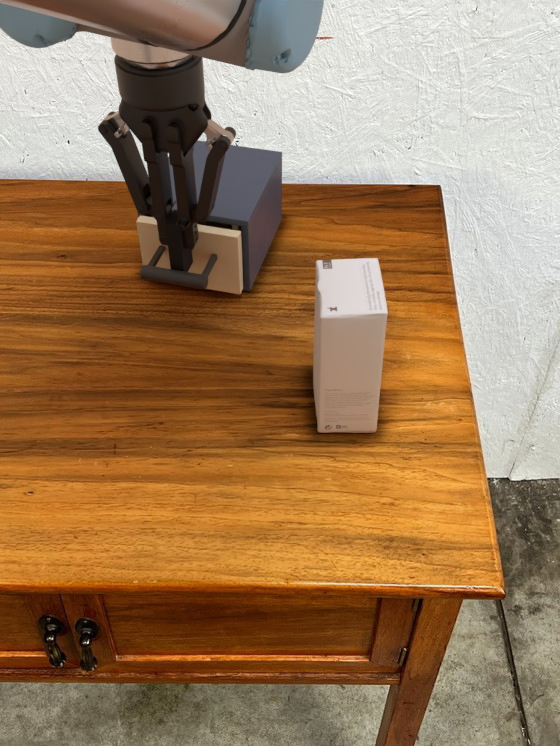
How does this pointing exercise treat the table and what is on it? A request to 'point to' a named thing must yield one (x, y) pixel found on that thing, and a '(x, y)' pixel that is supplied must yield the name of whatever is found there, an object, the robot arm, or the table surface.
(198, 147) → the cabinet
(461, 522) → the table surface
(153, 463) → the table surface
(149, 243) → the drawer
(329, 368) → the cosmetic box
